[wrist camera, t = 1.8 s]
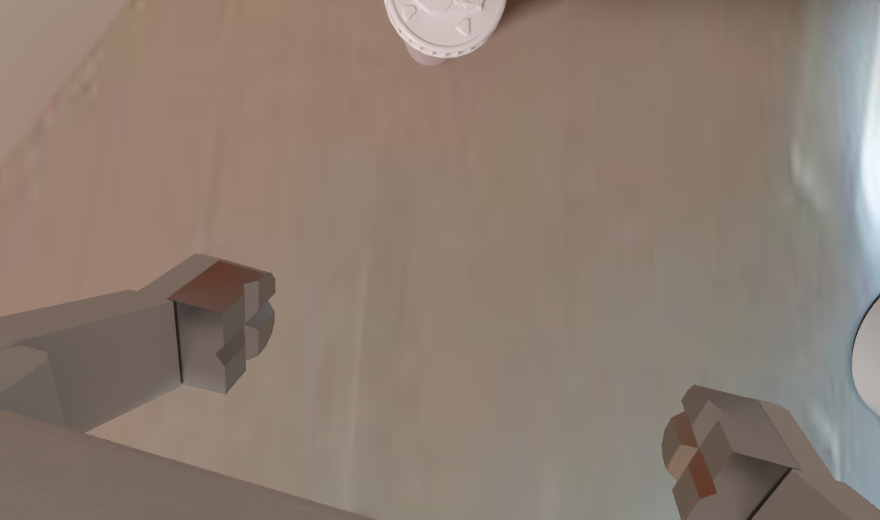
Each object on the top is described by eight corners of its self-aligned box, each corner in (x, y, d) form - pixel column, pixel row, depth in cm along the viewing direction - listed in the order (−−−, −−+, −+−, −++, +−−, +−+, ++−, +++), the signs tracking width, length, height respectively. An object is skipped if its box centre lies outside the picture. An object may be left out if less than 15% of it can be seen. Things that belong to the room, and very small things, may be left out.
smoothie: (402, -27, 32) (409, -171, 18) (488, 9, 33) (556, -103, 19) (373, 67, 33) (360, -5, 19) (458, 99, 34) (503, 52, 20)
